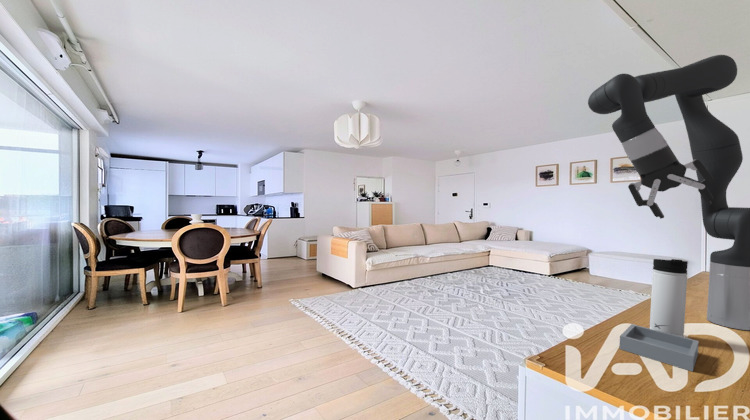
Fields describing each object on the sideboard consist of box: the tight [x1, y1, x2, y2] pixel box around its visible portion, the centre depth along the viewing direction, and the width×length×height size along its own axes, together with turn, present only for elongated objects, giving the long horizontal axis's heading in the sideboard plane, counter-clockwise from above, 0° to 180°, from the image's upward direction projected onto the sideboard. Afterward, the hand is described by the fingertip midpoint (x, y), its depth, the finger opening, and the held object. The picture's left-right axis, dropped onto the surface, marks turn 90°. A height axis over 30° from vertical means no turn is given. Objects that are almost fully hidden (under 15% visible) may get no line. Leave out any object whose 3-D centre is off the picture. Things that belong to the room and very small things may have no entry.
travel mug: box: [649, 258, 689, 337], centre depth 77 cm, size 6×7×20 cm
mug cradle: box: [619, 323, 699, 373], centre depth 69 cm, size 12×12×3 cm
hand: (684, 210), depth 73 cm, fingers open, 8 cm apart
